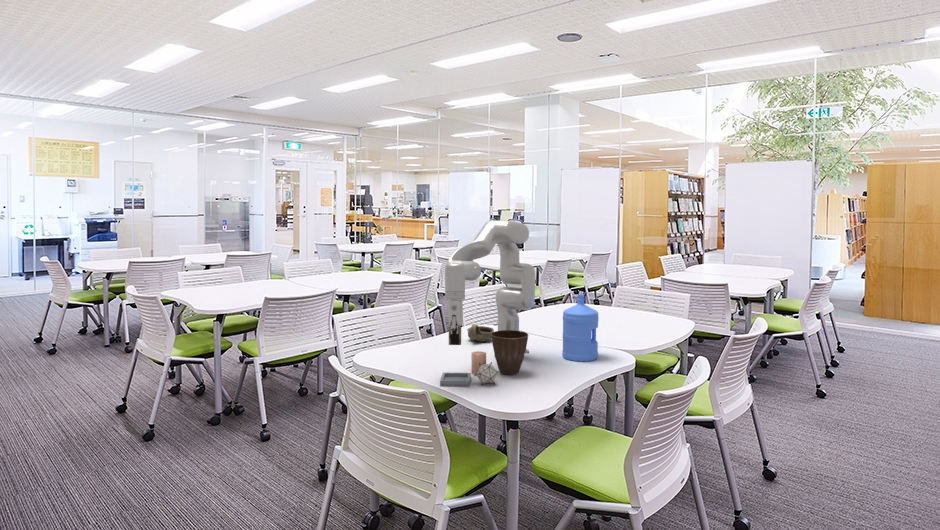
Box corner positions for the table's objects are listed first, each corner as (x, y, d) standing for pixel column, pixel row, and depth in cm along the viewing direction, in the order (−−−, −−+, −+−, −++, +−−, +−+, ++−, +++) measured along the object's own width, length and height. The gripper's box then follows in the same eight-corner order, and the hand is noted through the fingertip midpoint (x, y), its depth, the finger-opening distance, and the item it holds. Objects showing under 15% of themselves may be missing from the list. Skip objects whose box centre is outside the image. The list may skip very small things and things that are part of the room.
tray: (470, 377, 221) (470, 372, 221) (469, 386, 210) (469, 381, 210) (442, 377, 222) (442, 372, 222) (440, 386, 211) (440, 380, 211)
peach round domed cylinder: (486, 370, 231) (486, 351, 231) (486, 374, 225) (486, 355, 225) (471, 370, 232) (471, 351, 231) (471, 374, 226) (471, 355, 225)
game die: (490, 394, 212) (496, 378, 206) (469, 385, 214) (475, 369, 207) (498, 377, 219) (503, 361, 213) (477, 368, 220) (483, 352, 214)
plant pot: (530, 368, 234) (530, 330, 232) (525, 379, 219) (525, 338, 218) (494, 366, 237) (494, 329, 235) (488, 376, 222) (488, 337, 221)
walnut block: (461, 342, 217) (461, 327, 216) (460, 345, 212) (460, 329, 212) (449, 342, 217) (449, 327, 216) (448, 345, 212) (448, 329, 212)
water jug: (569, 362, 242) (569, 298, 240) (557, 353, 258) (558, 293, 255) (603, 361, 245) (604, 297, 242) (590, 352, 260) (591, 292, 258)
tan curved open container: (498, 339, 288) (498, 320, 287) (484, 346, 273) (484, 326, 272) (474, 336, 294) (474, 318, 293) (459, 343, 278) (459, 324, 277)
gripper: (463, 298, 204) (463, 348, 206) (466, 292, 221) (466, 338, 223) (443, 298, 205) (443, 347, 206) (447, 292, 221) (447, 337, 223)
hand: (455, 342), depth 214 cm, fingers closed on walnut block, 4 cm apart
